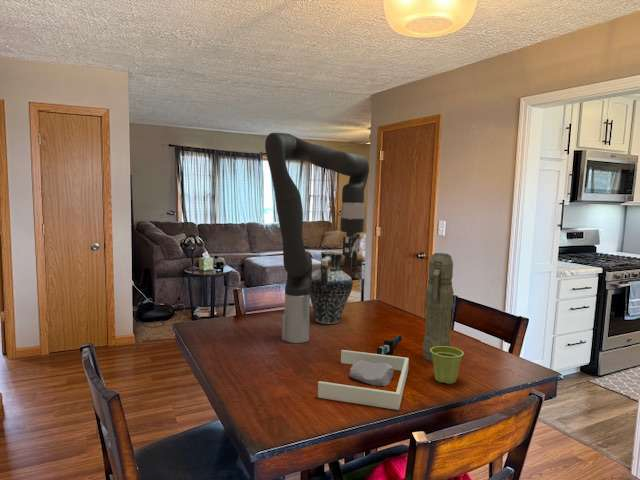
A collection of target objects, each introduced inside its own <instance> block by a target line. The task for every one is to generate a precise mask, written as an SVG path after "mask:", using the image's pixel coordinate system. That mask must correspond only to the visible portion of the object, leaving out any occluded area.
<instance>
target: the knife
mask: <svg viewBox="0 0 640 480" xmlns="http://www.w3.org/2000/svg"><path fill="white" fill-rule="evenodd" d="M402 339H403V335H402V334H398V335H397V336H395V337H394V338H390V340H384V341H383V345H382V346H377V349H376V354H380V355H387V354H388V355H393V354H394V348H395V347H396V346H397V345H398V344H400V342H401V341H402Z"/></svg>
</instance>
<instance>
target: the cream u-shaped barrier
mask: <svg viewBox="0 0 640 480" xmlns="http://www.w3.org/2000/svg"><path fill="white" fill-rule="evenodd" d="M360 360H366V361H367V362H371V363H379V362H380V363H388V364H389V365H391V366H392V367H393V369H394V371H399V372H400V376H399V379H398V383H397V388H396V390H395V391H388V390H382V389H376V388H369V387H362V386H357V385H356V386H355V385H349V384H348V385H347V384H341V383H334V382H328V381H327V382H326V381H318V382H317V386H318V387H317V398H319V399H326V400H332V401H337V402H338V401H339V402H344V403H345V402H346V403H353V404H359V405H364V406H369V407H370V406H371V407H378V408H383V409H384V408H385V409H391V410H395V411H397V410H398V411H399V410H400V407H401V402H402V398H403V394H404V391H405V386H406V381H407V377H408V372H409V363H410V361H409V360H410V359H409V357H403V356H396V355H390V354H388V355H387V354H384V355H380V354H377V353H373V352H372V353H370V352H363V351H354V350H347V349H341V352H340V363H341V364H343V365H344V364H345V365H352V366H353V365H354V364H355V363H356V362H359V361H360Z"/></svg>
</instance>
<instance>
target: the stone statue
mask: <svg viewBox="0 0 640 480" xmlns="http://www.w3.org/2000/svg"><path fill="white" fill-rule="evenodd" d="M428 262H429V263H428V274H427V275H428V281H427V285H426V289H425V299H424V300H425V301H424V303H425V304H424V305H425V308H426V311H425V312H426V313H425V314H426V315H425V329H424V331H425V332H424V338H423V341H422V351H423V353H422V358H423V359H424V360H426V361H428V362H432V363H433V357H432V353H431V352H430V349H431V348H432V347H436V346H448V347H452V343H451V342H452V341H451V340H452V339H451V319H452V315H451V314H452V309H453V307H454V288H453V282H452V279H453V275H454V273H453V271H454V270H453V269H454V262H453V258H452V255H450V254H449V253H443V252H435V253H433V254H432V255H431V256H430V259H429V261H428Z"/></svg>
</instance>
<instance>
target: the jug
mask: <svg viewBox="0 0 640 480" xmlns="http://www.w3.org/2000/svg"><path fill="white" fill-rule="evenodd" d="M342 253H343V252H341V251H331V250H329V251H328V250H326V251H320V254H321V255H320V256H321V259H320V260H321V261H320V267H319V269H316V270H314V271H312V280H311V288H310V303H311V306H312V311H313V313H314V314H313V318H314V321H315V322H317V323H319V324H324V325H333V324H337V323H339V322H340V321H341V318H342V313H343V310H344V308H345V305H346V303H347V301H348V299H349V297H350V295H351V293H352V289H353V285H354V283H353V279H352V277H351V276H350V275H349V274H348V273H346V272H345V271H343V270H342V268H341V262H342V257H343V255H342Z"/></svg>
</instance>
